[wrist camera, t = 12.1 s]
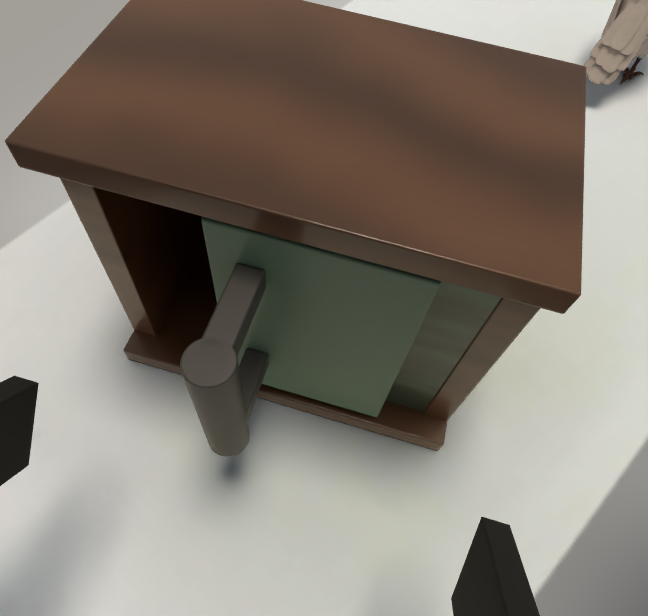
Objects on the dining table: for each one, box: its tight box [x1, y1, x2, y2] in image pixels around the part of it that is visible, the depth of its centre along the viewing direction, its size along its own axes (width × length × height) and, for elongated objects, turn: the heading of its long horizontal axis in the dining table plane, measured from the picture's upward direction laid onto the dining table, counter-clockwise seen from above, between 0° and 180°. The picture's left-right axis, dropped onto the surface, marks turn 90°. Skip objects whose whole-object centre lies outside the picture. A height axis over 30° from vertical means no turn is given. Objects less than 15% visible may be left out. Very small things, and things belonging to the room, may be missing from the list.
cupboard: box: [5, 0, 586, 450], centre depth 22 cm, size 10×16×14 cm, turn 74°
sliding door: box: [180, 217, 441, 457], centre depth 19 cm, size 5×7×11 cm
